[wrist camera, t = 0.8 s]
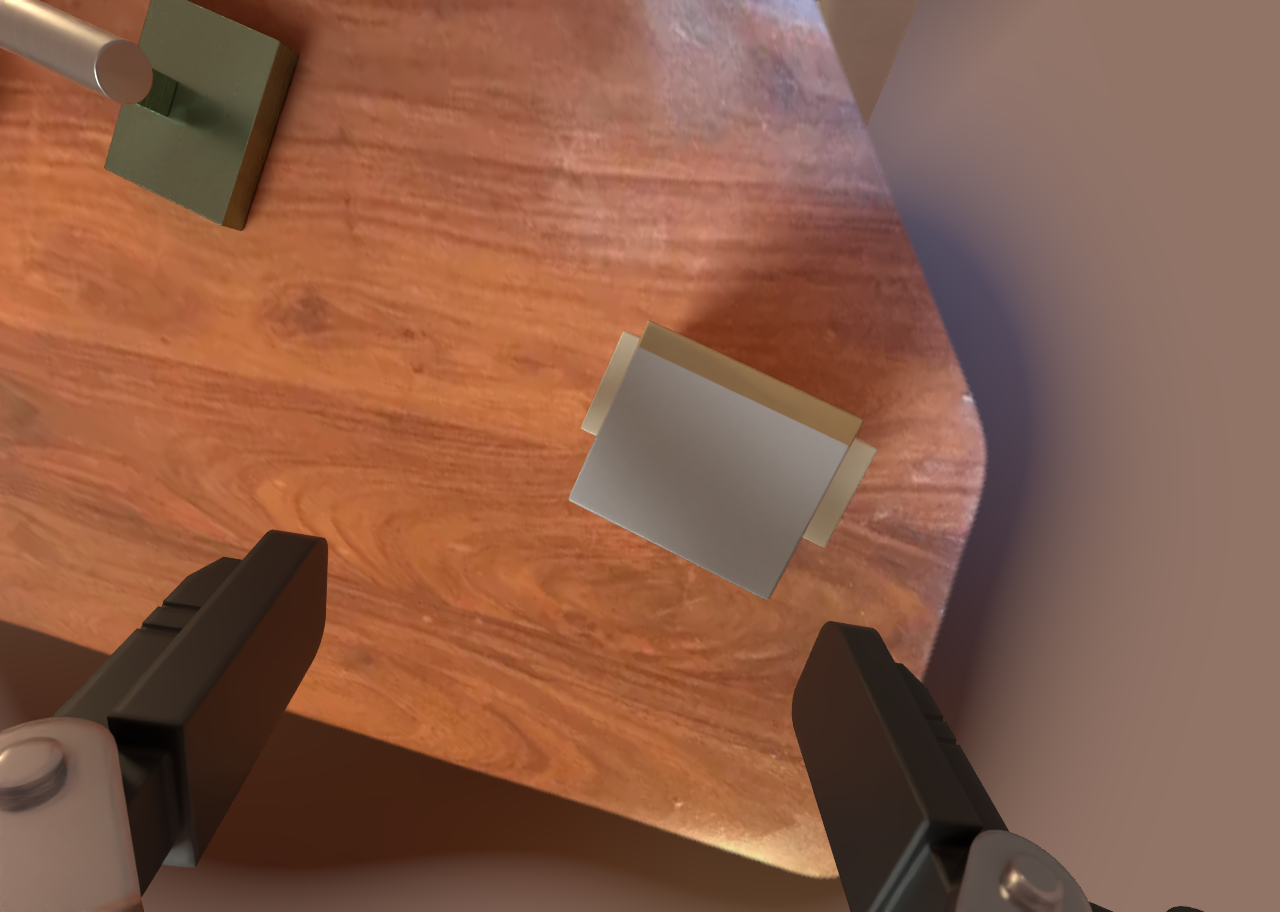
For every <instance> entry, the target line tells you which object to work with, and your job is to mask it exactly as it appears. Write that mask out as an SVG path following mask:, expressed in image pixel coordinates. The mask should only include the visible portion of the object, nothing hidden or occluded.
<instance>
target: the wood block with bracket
mask: <svg viewBox="0 0 1280 912" xmlns="http://www.w3.org/2000/svg"><path fill="white" fill-rule="evenodd" d="M863 421H864V420H863V419H862V418H860V417H858V416H855V415H853V414H851V413H849V412H847V411H845V410H842V409H840V408H838V407H836V406H834V405H832V404H830V403H827V402H825V401H823V400H821V399H819V398H817V397H814V396H812V395H810V394H808V393H806V392H804V391H802V390H799V389H797V388H795V387H793V386H791V385H789V384H787V383H784V382H782V381H780V380H778V379H776V378H774V377H771V376H769V375H767V374H765V373H763V372H761V371H759V370H756V369H754V368H752V367H750V366H748V365H746V364H743V363H741V362H739V361H737V360H735V359H733V358H731V357H728V356H726V355H724V354H722V353H720V352H718V351H715V350H713V349H711V348H709V347H707V346H705V345H703V344H700V343H698V342H696V341H694V340H692V339H690V338H688V337H685V336H683V335H681V334H679V333H677V332H675V331H672V330H670V329H668V328H666V327H664V326H662V325H660V324H657V323H655V322H653V321H651V320H649V321H648V322H647V324H646V326H645V328H644V330H643V333H642V335H641V336H639V335H636V334H633V333H630V332H628V331H623V333H622V335H621V338H620V340H619V342H618V344H617V347H616V349H615V351H614V353H613V356H612V358H611V360H610V362H609V365H608V367H607V369H606V371H605V374H604V376H603V378H602V380H601V383H600V385H599V387H598V389H597V392H596V394H595V396H594V398H593V401H592V403H591V405H590V407H589V410H588V412H587V414H586V416H585V419H584V421H583V423H582V425H581V429H583V430H585V431H587V432H589V433H591V434H593V435H595V436H596V438H595V440H594V442H593V444H592V447H591V449H590V451H589V453H588V455H587V458H586V460H585V462H584V464H583V467H582V469H581V471H580V473H579V475H578V478H577V480H576V482H575V484H574V487H573V489H572V491H571V493H570V495H569V500H570V501H571V502H573V503H575V504H577V505H579V506H581V507H583V508H585V509H587V510H589V511H591V512H593V513H595V514H597V515H599V516H601V517H602V518H604V519H606V520H608V521H610V522H612V523H614V524H616V525H618V526H620V527H622V528H624V529H626V530H628V531H630V532H632V533H634V534H636V535H638V536H640V537H642V538H644V539H646V540H648V541H650V542H652V543H654V544H656V545H658V546H660V547H662V548H664V549H666V550H668V551H670V552H672V553H674V554H676V555H678V556H680V557H682V558H683V559H685V560H687V561H689V562H691V563H693V564H695V565H697V566H699V567H701V568H703V569H705V570H707V571H709V572H711V573H713V574H715V575H717V576H719V577H721V578H723V579H725V580H727V581H729V582H731V583H733V584H735V585H737V586H739V587H741V588H743V589H745V590H747V591H749V592H751V593H753V594H755V595H757V596H759V597H761V598H763V599H764V600H769V599H770V597H771V596H772V594H773V592H774V590H775V588H776V586H777V584H778V582H779V580H780V578H781V577H782V575H783V573H784V571H785V569H786V567H787V565H788V563H789V561H790V560H791V558H792V556H793V554H794V552H795V550H796V548H797V546H798V544H799V543H800V541H801V539H802V537H803V538H805V539H807V540H809V541H811V542H813V543H815V544H817V545H819V546H821V547H824V548H825V547H826V545H827V544H828V542H829V540H830V538H831V536H832V534H833V532H834V530H835V529H836V527H837V525H838V523H839V521H840V519H841V517H842V516H843V514H844V512H845V510H846V508H847V506H848V504H849V503H850V501H851V499H852V497H853V495H854V493H855V491H856V490H857V488H858V486H859V484H860V482H861V480H862V478H863V476H864V475H865V473H866V471H867V469H868V467H869V465H870V463H871V462H872V460H873V458H874V456H875V454H876V452H877V449H876V448H875V447H873V446H872V445H870V444H868V443H867V442H865V441H863V440H862V439H860V438H858V437H857V436H856V435H857V433H858V431H859V429H860V427H861V426H862V424H863Z"/></svg>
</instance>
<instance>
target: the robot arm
mask: <svg viewBox="0 0 1280 912" xmlns="http://www.w3.org/2000/svg"><path fill="white" fill-rule="evenodd" d="M327 566H328V544H327V541H326V539H325V538H322V537H316V536H310V535H304V534H298V533H291V532H285V531H279V530H270V531H268V532H267V533H266V534H265V535H264V536H263V537H262V538H261V540H260V541H259V542H258V543H257V544H256V545H255V546H254V548H253V549H252V550H251V551H250V552H249V553H248V555H247V556H246V557H245V558H244V559H243V560H240V559H234V558H227V557H223V558H221V559H219V560H217V561H215V562H213V563H211V564H209V565H208V566H206V567H204V568H202V569H200V570H198V571H196V572H194V573H192V574H191V575H189V576H187V577H186V578H185V579H184V580H183V581H182V582H181V583H180V585H179V586H178V587H177V588H176V589H175V590H174V591H173V592H172V593H171V594H170V595H169V596H168V597H167V598H166V599H165V600H164V601H163V605H162V607H157V608H156V609H155V610H154V611H153V612H152V614H151V615H150V616H149V617H148V618H147V619H146V620H145V621H144V622H143V623H142V627H141V629H136V630H135V631H134V632H133V633H132V634H131V635H130V636H129V637H128V638H127V639H126V640H125V641H124V643H123V644H122V645H121V646H120V647H119V648H118V649H117V650H116V651H115V652H114V653H113V654H112V655H111V656H110V657H109V658H108V659H107V660H106V661H105V662H104V663H103V664H102V665H101V666H100V667H99V668H98V669H97V671H96V672H95V673H94V674H93V675H92V676H91V677H90V678H89V679H88V680H87V681H86V682H85V683H84V684H83V685H82V686H81V687H80V688H79V689H78V690H77V691H76V692H75V693H74V694H73V695H72V696H71V697H70V699H68V701H67V702H66V703H65V704H64V705H63V706H62V707H61V708H60V709H59V710H58V711H57V712H56V713H55V714H54V715H53V716H52V717H51V718H48V719H40V720H36V721H31V722H27V723H23V724H20V725H17V726H14V727H11V728H8V729H6V730H4V731H1V732H0V912H144V909H143V906H142V900H141V897H142V896H143V894H144V893H145V891H146V889H147V888H148V886H149V884H150V883H151V881H152V880H153V878H154V876H155V875H156V873H157V872H158V870H159V868H160V867H161V865H172V866H181V867H192V868H195V867H196V865H197V863H198V862H199V860H200V858H201V856H202V855H203V853H204V851H205V849H206V848H207V846H208V844H209V842H210V841H211V839H212V837H213V835H214V834H215V832H216V830H217V828H218V827H219V825H220V823H221V821H222V819H223V818H224V816H225V814H226V813H227V811H228V809H229V807H230V806H231V804H232V802H233V800H234V799H235V797H236V795H237V793H238V791H239V789H240V788H241V786H242V784H243V783H244V781H245V779H246V777H247V776H248V774H249V772H250V770H251V769H252V767H253V765H254V763H255V762H256V760H257V758H258V756H259V754H260V753H261V751H262V749H263V747H264V746H265V744H266V742H267V740H268V739H269V737H270V735H271V734H272V732H273V730H274V728H275V727H276V725H277V723H278V721H279V720H280V718H281V716H282V714H283V712H284V711H285V709H286V707H287V705H288V704H289V702H290V700H291V698H292V697H293V695H294V693H295V691H296V690H297V688H298V686H299V684H300V683H301V681H302V679H303V677H304V676H305V674H306V672H307V670H308V669H309V667H310V665H311V663H312V662H313V660H314V658H315V656H316V653H317V651H318V648H319V645H320V643H321V639H322V636H323V631H324V627H325V620H326V595H327ZM792 721H793V726H794V730H795V734H796V737H797V740H798V743H799V746H800V750H801V753H802V756H803V759H804V763H805V766H806V769H807V772H808V775H809V779H810V782H811V785H812V788H813V792H814V795H815V798H816V801H817V805H818V808H819V811H820V814H821V817H822V821H823V824H824V827H825V830H826V834H827V837H828V840H829V843H830V846H831V850H832V853H833V856H834V859H835V863H836V866H837V869H838V872H839V875H840V879H841V882H842V885H843V888H844V892H845V895H846V898H847V901H848V904H849V907H850V911H851V912H1112V911H1110V910H1107V909H1105V908H1103V907H1101V906H1098V905H1096V904H1094V903H1091V902H1089V901H1088V900H1087V897H1086V896H1085V894H1084V892H1083V891H1082V889H1081V887H1080V886H1079V885H1078V883H1077V882H1076V881H1075V879H1074V878H1073V877H1072V876H1071V875H1070V873H1069V872H1068V871H1067V870H1066V869H1065V868H1064V867H1063V866H1062V865H1061V864H1060V863H1059V862H1058V861H1057V860H1056V859H1055V858H1054V857H1052V856H1051V855H1050V854H1049V853H1047V852H1046V851H1045V850H1044V849H1042V848H1041V847H1039V846H1038V845H1036V844H1034V843H1033V842H1031V841H1029V840H1028V839H1026V838H1024V837H1021V836H1019V835H1017V834H1014V833H1011V832H1009V830H1008V829H1007V827H1006V825H1005V823H1004V822H1003V820H1002V818H1001V816H1000V815H999V813H998V811H997V810H996V808H995V806H994V804H993V803H992V801H991V799H990V797H989V796H988V794H987V792H986V790H985V789H984V787H983V785H982V783H981V782H980V780H979V778H978V777H977V775H976V773H975V771H974V769H973V768H972V766H971V764H970V762H969V761H968V759H967V757H966V755H965V754H964V752H963V750H962V749H961V747H960V745H956V738H955V736H954V735H953V733H952V731H951V729H950V728H949V726H948V724H947V722H943V715H942V714H941V712H940V710H939V709H938V707H937V705H936V703H935V701H934V700H933V698H932V696H931V695H930V693H929V691H928V689H927V688H925V686H924V685H923V684H922V683H921V682H920V681H919V680H918V679H917V678H916V677H915V676H914V675H913V674H912V673H911V672H910V671H909V670H908V669H907V668H906V667H905V666H904V665H903V664H901V663H895V662H894V660H893V658H892V656H891V655H890V653H889V651H888V649H887V647H886V645H885V643H884V642H883V640H882V638H881V636H880V634H879V633H878V632H877V631H876V630H875V629H874V628H870V627H864V626H858V625H851V624H845V623H839V622H833V621H829V622H827V623H825V624H824V626H823V627H822V628H821V630H820V632H819V635H818V637H817V639H816V642H815V644H814V646H813V649H812V651H811V653H810V656H809V658H808V660H807V663H806V665H805V667H804V669H803V672H802V674H801V676H800V679H799V681H798V683H797V686H796V688H795V691H794V695H793V702H792ZM1167 912H1203V911H1200V910H1198V909H1195V908H1191V907H1184V906H1178V907H1173V908H1171V909H1169V910H1168V911H1167Z"/></svg>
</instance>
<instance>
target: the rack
mask: <svg viewBox="0 0 1280 912" xmlns="http://www.w3.org/2000/svg"><path fill="white" fill-rule="evenodd" d="M0 48H2V49H4V50H6V51H8V52H11V53H13V54H15V55H17V56H19V57H21V58H23V59H25V60H27V61H30V62H32V63H34V64H36V65H38V66H40V67H42V68H44V69H47V70H49V71H51V72H53V73H55V74H57V75H59V76H61V77H64V78H66V79H68V80H70V81H72V82H74V83H76V84H78V85H81V86H83V87H85V88H87V89H89V90H91V91H93V92H95V93H98V94H100V95H102V96H104V97H106V98H108V99H110V100H112V101H115V102H117V103H120V104H122V105H121V109H120V113H119V116H118V120H117V123H116V127H115V131H114V134H113V138H112V141H111V145H110V149H109V152H108V156H107V159H106V163H105V167H104V168H105V169H106V170H108V171H110V172H112V173H114V174H116V175H119V176H121V177H123V178H125V179H127V180H129V181H131V182H133V183H135V184H137V185H139V186H141V187H143V188H145V189H147V190H149V191H151V192H153V193H156V194H158V195H160V196H162V197H164V198H166V199H168V200H170V201H172V202H174V203H176V204H178V205H180V206H182V207H184V208H186V209H188V210H191V211H193V212H195V213H197V214H199V215H201V216H203V217H205V218H207V219H209V220H211V221H213V222H215V223H217V224H219V225H221V226H225V227H229V228H232V229H236V230H239V231H242V229H243V226H244V223H245V220H246V217H247V214H248V211H249V208H250V205H251V201H252V198H253V195H254V192H255V189H256V186H257V183H258V180H259V177H260V174H261V170H262V167H263V164H264V161H265V158H266V155H267V152H268V149H269V146H270V143H271V139H272V136H273V133H274V130H275V127H276V124H277V121H278V118H279V115H280V112H281V108H282V105H283V102H284V99H285V96H286V93H287V90H288V87H289V84H290V81H291V77H292V74H293V71H294V68H295V65H296V62H297V59H298V56H299V55H298V54H297V53H296V52H295V51H293V50H292V49H290V48H289V47H288V46H286V45H285V44H283V43H282V42H280V41H279V40H276V39H274V38H272V37H269V36H267V35H265V34H263V33H260V32H258V31H256V30H254V29H251V28H249V27H247V26H245V25H242V24H240V23H238V22H236V21H233V20H231V19H229V18H227V17H224V16H222V15H220V14H218V13H215V12H213V11H211V10H209V9H206V8H204V7H202V6H200V5H197V4H195V3H193V2H191V1H188V0H151V1H150V5H149V8H148V12H147V16H146V19H145V23H144V26H143V30H142V34H141V37H140V41H139V44H138V46H137V45H135V44H134V43H132V42H130V41H127V40H125V39H123V38H121V37H119V36H116V35H114V34H112V33H110V32H108V31H105V30H103V29H101V28H99V27H97V26H94V25H92V24H90V23H88V22H86V21H84V20H81V19H79V18H77V17H75V16H73V15H70V14H68V13H66V12H64V11H62V10H59V9H57V8H55V7H53V6H51V5H49V4H46V3H44V2H42V1H40V0H0Z"/></svg>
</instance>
